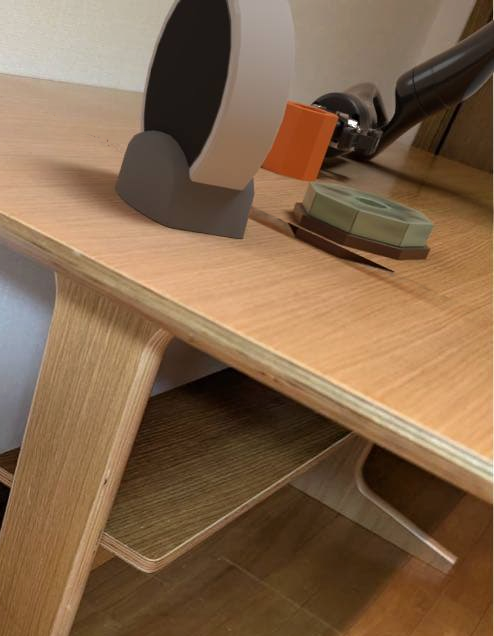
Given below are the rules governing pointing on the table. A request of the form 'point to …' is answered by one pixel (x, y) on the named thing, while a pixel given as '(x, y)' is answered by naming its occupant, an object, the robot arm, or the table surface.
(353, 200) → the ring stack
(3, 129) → the table surface
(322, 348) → the table surface
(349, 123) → the robot arm
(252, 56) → the alarm clock
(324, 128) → the orange octagonal prism
